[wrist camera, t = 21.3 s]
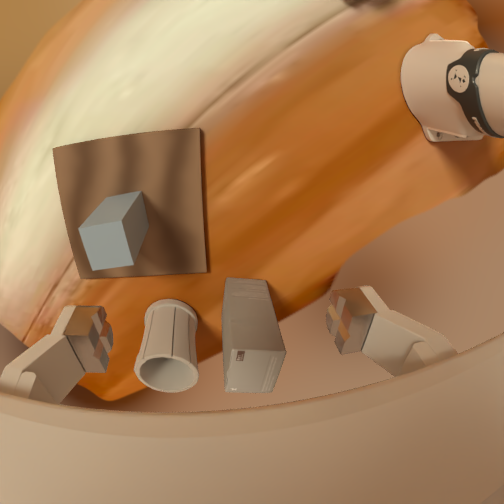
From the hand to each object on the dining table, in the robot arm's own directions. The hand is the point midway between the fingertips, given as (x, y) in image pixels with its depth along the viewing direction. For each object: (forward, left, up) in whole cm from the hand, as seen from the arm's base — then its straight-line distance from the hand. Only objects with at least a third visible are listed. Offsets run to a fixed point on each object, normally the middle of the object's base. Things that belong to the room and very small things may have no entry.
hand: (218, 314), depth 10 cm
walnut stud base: (+11, +6, -29) cm, 32 cm away
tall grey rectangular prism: (+11, +6, -28) cm, 31 cm away
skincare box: (-4, +22, -29) cm, 37 cm away
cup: (+8, +26, -29) cm, 40 cm away
